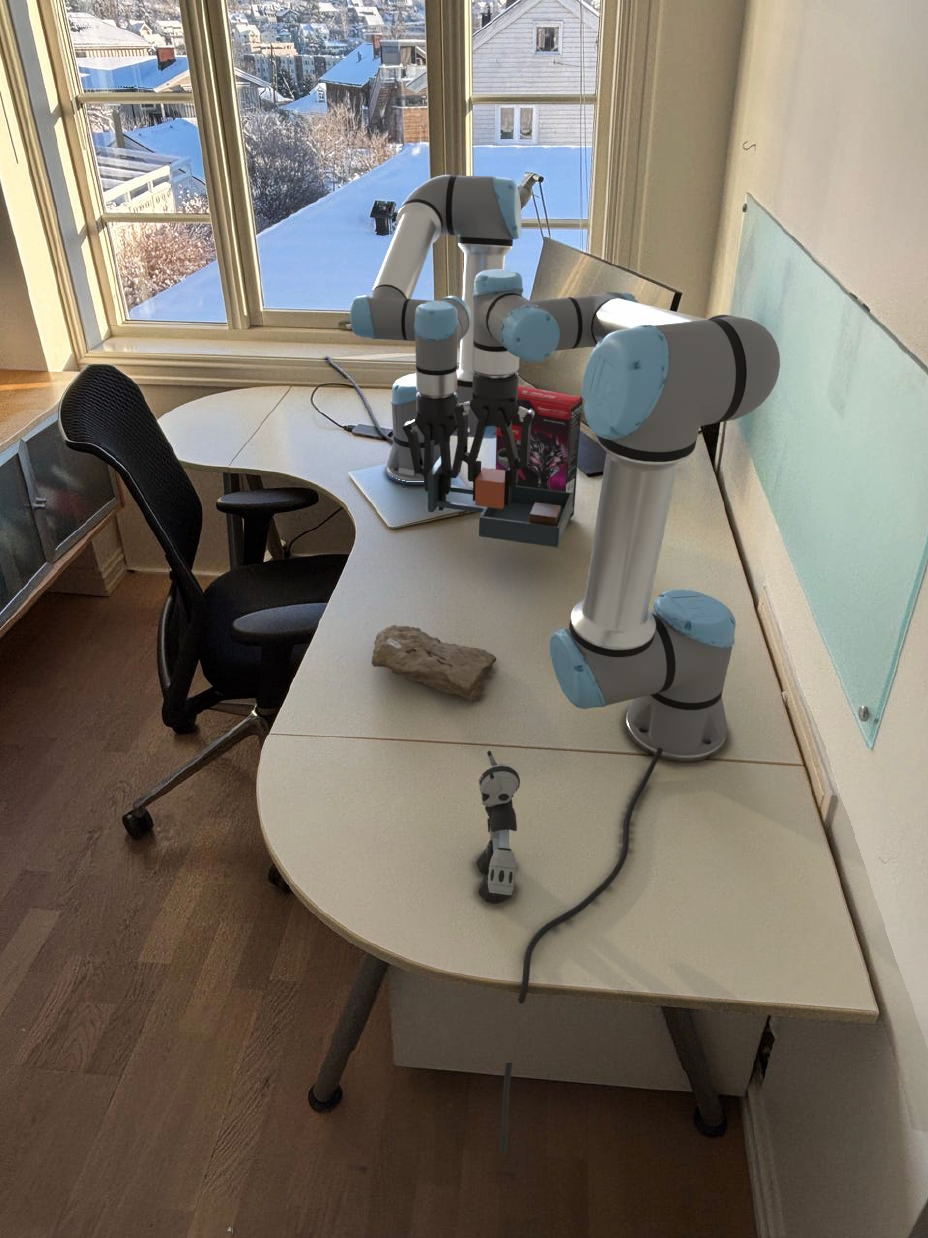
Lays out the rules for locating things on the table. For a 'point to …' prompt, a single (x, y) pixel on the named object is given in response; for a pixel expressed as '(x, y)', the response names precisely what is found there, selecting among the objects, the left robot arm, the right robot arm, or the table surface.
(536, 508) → the walnut cube
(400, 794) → the table surface
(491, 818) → the robot
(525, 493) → the tray
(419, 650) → the stone
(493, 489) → the terracotta cube
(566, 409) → the graphics card box
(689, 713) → the right robot arm
